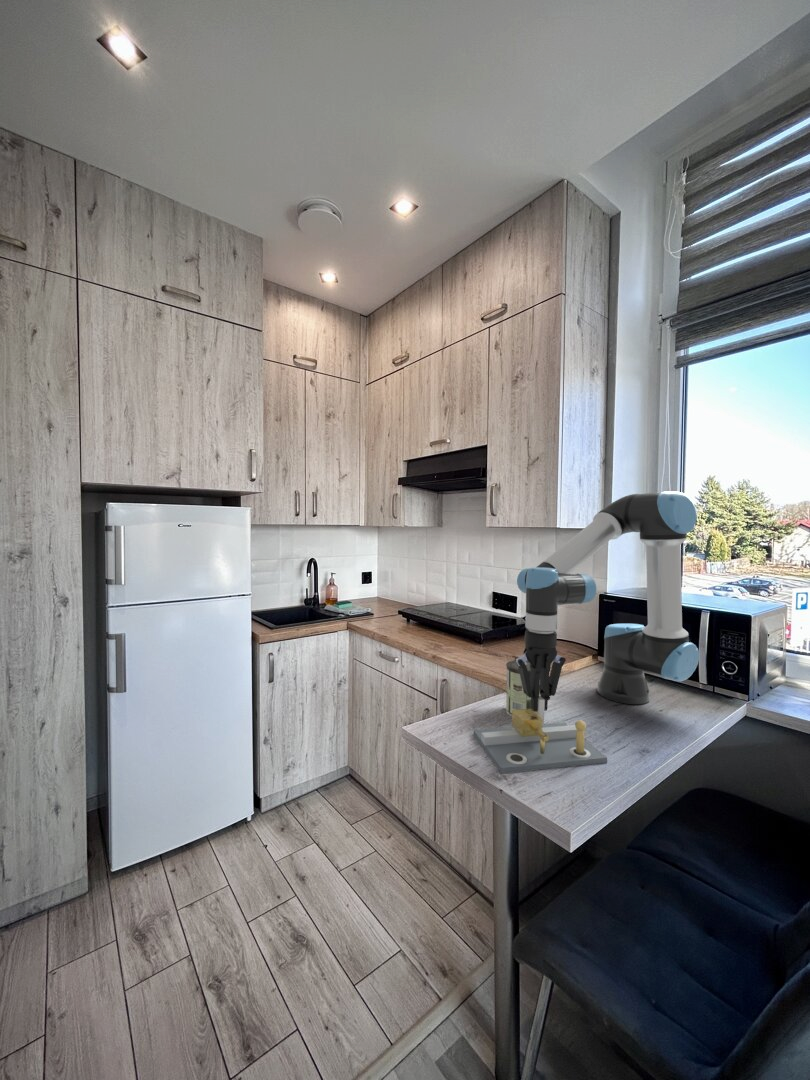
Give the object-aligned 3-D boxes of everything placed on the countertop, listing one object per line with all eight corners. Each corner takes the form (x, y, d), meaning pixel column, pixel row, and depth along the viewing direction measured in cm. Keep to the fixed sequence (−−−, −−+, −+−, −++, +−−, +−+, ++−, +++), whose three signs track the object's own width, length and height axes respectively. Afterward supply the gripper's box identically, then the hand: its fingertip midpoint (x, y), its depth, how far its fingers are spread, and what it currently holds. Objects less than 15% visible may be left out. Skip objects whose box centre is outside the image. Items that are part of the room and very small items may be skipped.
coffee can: (540, 707, 130) (541, 660, 129) (544, 722, 120) (545, 672, 119) (505, 704, 132) (505, 658, 131) (506, 718, 122) (506, 669, 121)
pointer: (530, 729, 111) (530, 708, 111) (555, 755, 99) (556, 731, 98) (511, 731, 110) (512, 710, 110) (535, 757, 98) (536, 733, 97)
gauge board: (564, 726, 117) (565, 694, 117) (607, 762, 99) (608, 725, 99) (473, 734, 112) (473, 701, 112) (501, 773, 95) (501, 734, 94)
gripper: (556, 625, 112) (554, 714, 113) (509, 627, 110) (508, 718, 110) (573, 632, 105) (570, 728, 105) (523, 634, 102) (521, 732, 103)
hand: (538, 723), depth 108 cm, fingers closed
